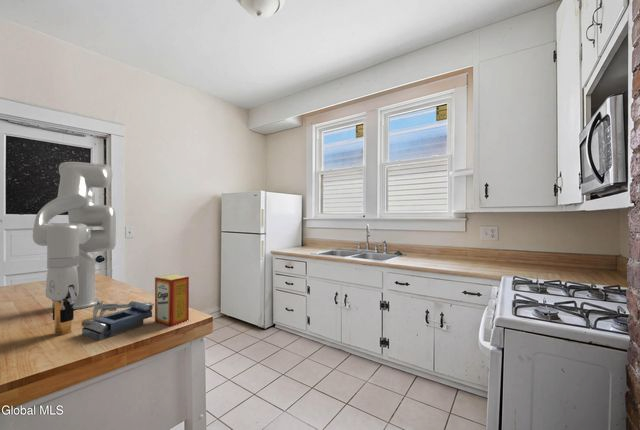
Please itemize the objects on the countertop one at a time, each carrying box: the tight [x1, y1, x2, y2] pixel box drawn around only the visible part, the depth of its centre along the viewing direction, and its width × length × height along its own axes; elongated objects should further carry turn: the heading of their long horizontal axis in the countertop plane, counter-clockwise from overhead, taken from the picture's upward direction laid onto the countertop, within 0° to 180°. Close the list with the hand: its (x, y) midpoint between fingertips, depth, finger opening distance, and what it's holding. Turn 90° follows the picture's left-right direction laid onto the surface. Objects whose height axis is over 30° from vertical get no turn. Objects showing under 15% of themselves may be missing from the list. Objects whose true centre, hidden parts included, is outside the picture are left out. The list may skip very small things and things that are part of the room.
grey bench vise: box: [81, 300, 154, 341], centre depth 93 cm, size 10×16×6 cm, turn 154°
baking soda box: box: [154, 273, 190, 328], centre depth 99 cm, size 10×6×16 cm
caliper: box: [92, 300, 155, 319], centre depth 110 cm, size 20×1×6 cm, turn 142°
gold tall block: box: [53, 296, 73, 337], centre depth 89 cm, size 4×4×12 cm
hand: (63, 319), depth 89 cm, fingers closed on gold tall block, 4 cm apart
